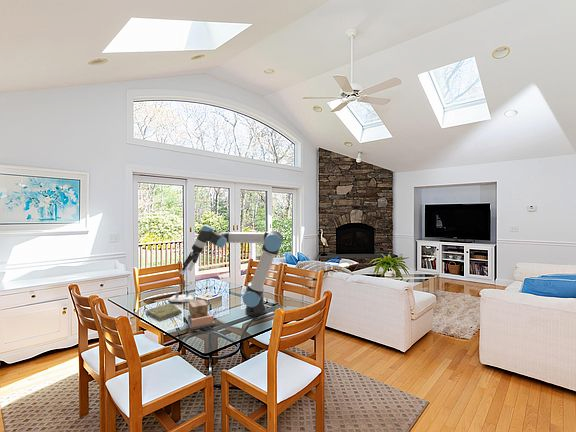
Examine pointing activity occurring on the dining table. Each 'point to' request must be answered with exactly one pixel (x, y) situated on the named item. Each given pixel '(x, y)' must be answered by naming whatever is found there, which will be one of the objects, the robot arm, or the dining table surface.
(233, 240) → the robot arm
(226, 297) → the dining table surface
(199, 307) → the oak block
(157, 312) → the decorative tile
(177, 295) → the figurine
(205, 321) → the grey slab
